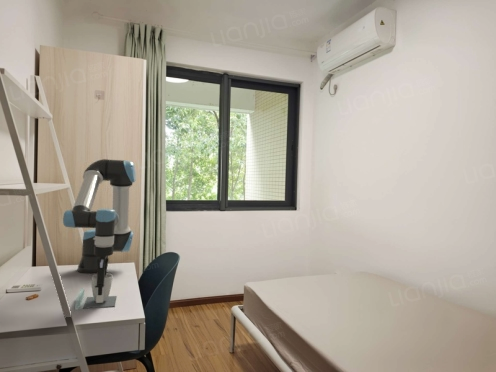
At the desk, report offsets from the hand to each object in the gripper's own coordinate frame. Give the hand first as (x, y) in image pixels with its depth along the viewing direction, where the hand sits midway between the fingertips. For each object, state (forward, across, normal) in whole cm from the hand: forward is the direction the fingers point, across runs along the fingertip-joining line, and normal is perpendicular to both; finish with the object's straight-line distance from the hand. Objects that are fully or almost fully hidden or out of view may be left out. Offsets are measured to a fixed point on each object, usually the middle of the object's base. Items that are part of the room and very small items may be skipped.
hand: (100, 298), depth 136 cm
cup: (0, 0, 0) cm, 0 cm away
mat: (+2, 0, 0) cm, 2 cm away
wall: (+2, 0, -8) cm, 8 cm away
